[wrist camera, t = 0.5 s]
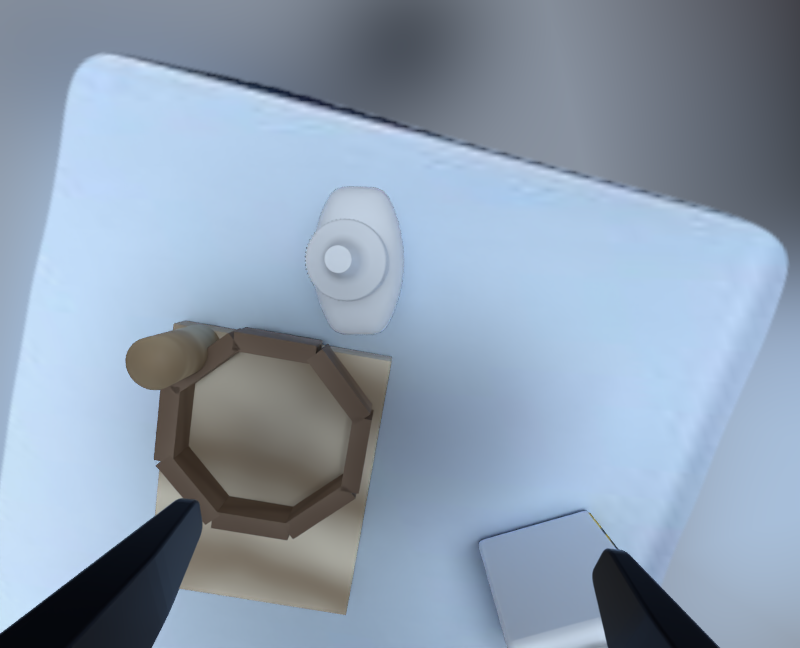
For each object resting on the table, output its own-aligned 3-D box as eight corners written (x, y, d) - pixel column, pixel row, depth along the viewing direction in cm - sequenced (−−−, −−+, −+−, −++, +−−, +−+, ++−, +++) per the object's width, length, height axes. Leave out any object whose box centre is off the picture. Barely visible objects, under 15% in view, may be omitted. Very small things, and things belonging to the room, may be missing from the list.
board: (348, 598, 25) (334, 685, 19) (160, 568, 24) (95, 648, 19) (393, 348, 22) (391, 372, 17) (186, 312, 22) (121, 325, 17)
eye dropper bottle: (314, 288, 22) (211, 311, 10) (363, 200, 21) (315, 110, 9) (381, 326, 22) (358, 393, 10) (431, 240, 21) (469, 205, 10)
